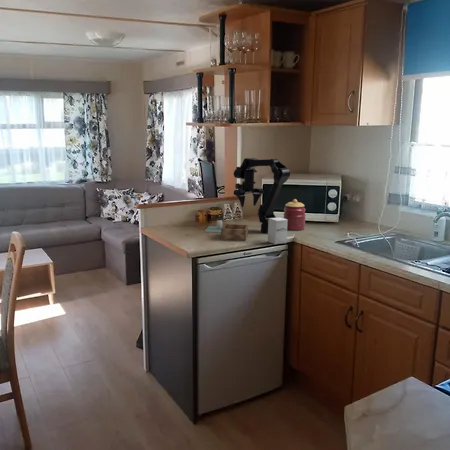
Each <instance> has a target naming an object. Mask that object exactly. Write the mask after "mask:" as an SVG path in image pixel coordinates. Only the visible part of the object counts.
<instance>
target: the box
mask: <svg viewBox="0 0 450 450" xmlns="http://www.w3.org/2000/svg"><path fill="white" fill-rule="evenodd" d="M248 232H249V225H248V224H239V223H237V224H235V223H223V224H222V229H221V233H220V240H221V241H237V242H247V238H248V236H249V233H248Z"/></svg>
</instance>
